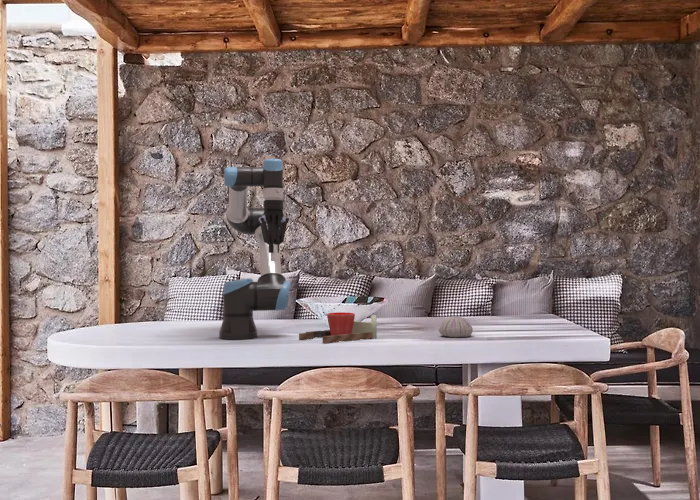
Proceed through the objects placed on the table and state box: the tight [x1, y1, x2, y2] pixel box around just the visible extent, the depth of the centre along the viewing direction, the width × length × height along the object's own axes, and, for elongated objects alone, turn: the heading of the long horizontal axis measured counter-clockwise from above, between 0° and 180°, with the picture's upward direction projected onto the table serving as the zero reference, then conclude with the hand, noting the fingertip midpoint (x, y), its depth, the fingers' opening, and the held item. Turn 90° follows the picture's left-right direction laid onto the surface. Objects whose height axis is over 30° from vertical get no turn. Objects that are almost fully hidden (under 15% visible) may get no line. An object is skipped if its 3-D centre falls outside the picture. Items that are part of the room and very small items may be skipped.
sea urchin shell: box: [438, 315, 473, 339], centre depth 312 cm, size 13×14×8 cm
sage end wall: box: [352, 314, 378, 339], centre depth 314 cm, size 2×18×9 cm, turn 39°
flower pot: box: [326, 311, 356, 336], centre depth 311 cm, size 11×11×10 cm
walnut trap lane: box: [298, 329, 372, 345], centre depth 308 cm, size 25×19×2 cm
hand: (274, 261), depth 301 cm, fingers closed
